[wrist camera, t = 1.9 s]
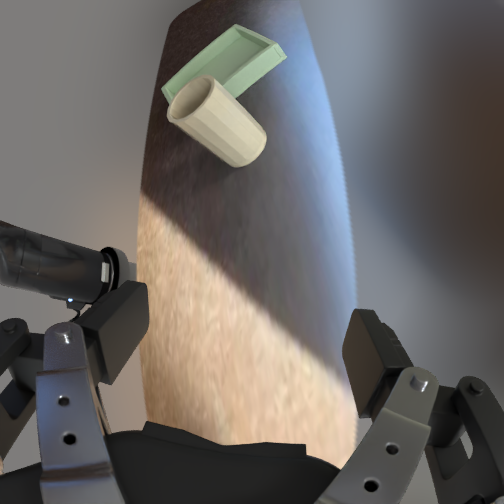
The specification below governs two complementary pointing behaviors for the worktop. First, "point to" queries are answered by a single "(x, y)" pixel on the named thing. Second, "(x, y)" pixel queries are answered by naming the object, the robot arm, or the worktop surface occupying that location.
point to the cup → (217, 121)
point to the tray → (230, 62)
